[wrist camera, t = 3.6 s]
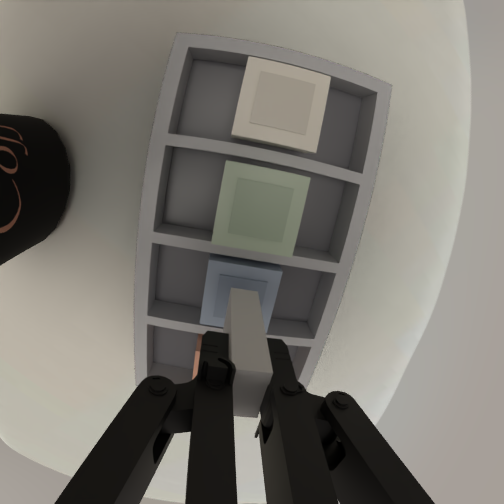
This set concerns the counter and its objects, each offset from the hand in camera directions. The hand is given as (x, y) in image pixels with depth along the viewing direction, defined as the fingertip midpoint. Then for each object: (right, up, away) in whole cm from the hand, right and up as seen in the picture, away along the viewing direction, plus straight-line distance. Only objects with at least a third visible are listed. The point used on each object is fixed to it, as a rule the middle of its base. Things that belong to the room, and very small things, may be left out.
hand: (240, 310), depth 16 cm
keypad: (0, +4, +5) cm, 7 cm away
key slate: (0, +1, +5) cm, 5 cm away
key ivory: (+2, +12, 0) cm, 12 cm away
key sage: (+1, +6, +2) cm, 7 cm away
